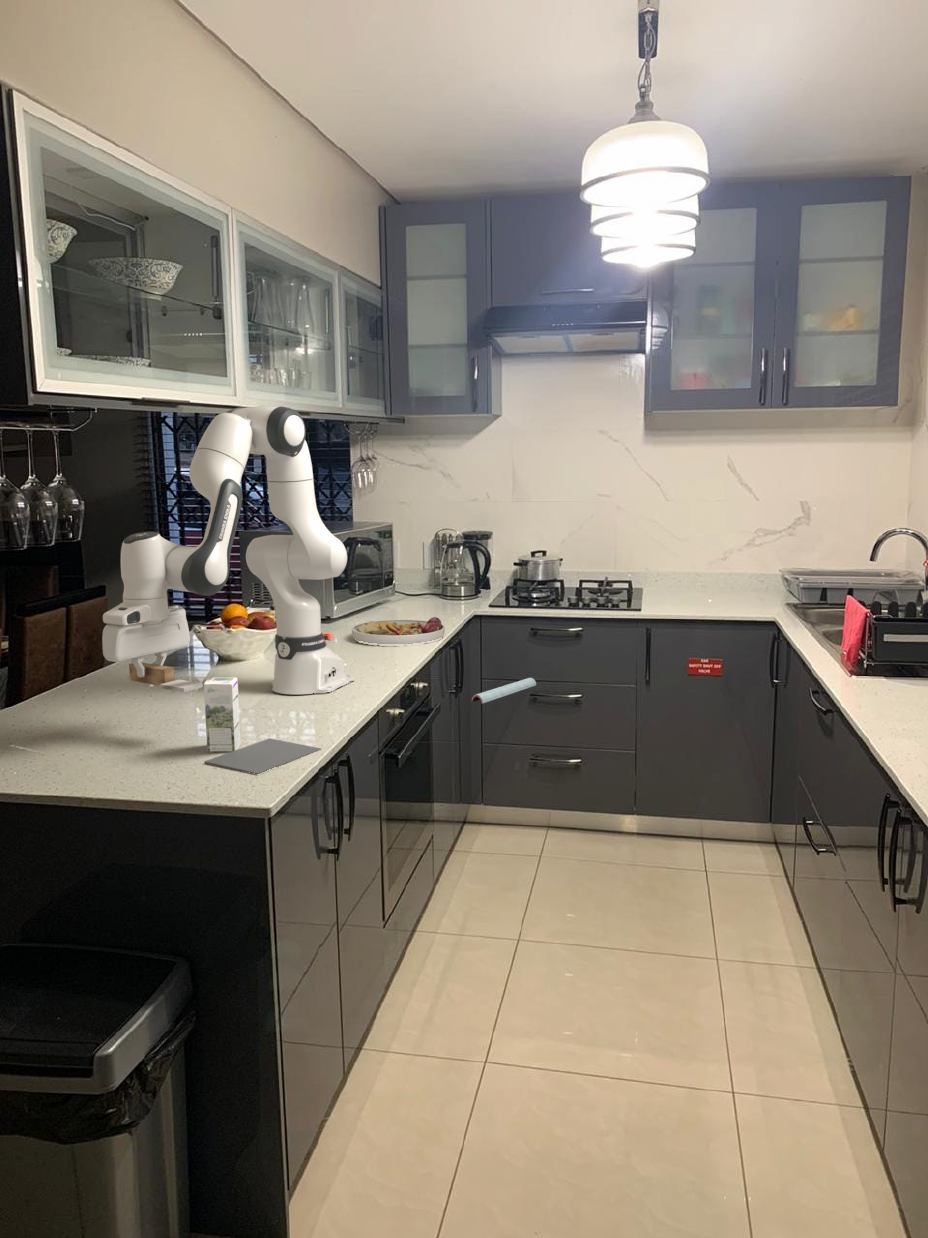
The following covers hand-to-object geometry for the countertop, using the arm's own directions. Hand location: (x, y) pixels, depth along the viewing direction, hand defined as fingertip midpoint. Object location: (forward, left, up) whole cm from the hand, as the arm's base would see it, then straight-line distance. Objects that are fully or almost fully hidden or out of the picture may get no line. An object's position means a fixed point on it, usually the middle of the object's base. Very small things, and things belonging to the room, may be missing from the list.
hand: (150, 674), depth 202 cm
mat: (0, +32, -13) cm, 35 cm away
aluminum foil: (-66, +51, -14) cm, 84 cm away
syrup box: (0, +21, -13) cm, 25 cm away
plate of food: (-114, -17, -14) cm, 116 cm away
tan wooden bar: (0, +5, -2) cm, 5 cm away
